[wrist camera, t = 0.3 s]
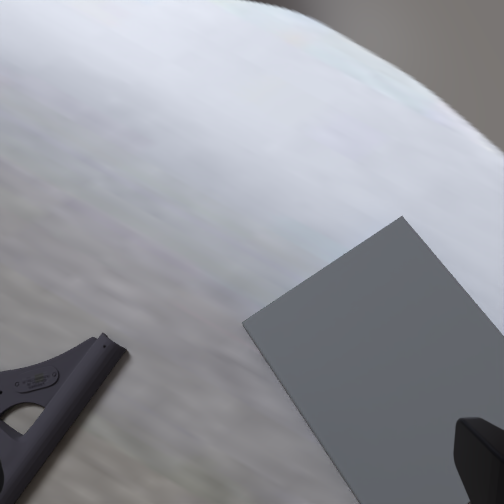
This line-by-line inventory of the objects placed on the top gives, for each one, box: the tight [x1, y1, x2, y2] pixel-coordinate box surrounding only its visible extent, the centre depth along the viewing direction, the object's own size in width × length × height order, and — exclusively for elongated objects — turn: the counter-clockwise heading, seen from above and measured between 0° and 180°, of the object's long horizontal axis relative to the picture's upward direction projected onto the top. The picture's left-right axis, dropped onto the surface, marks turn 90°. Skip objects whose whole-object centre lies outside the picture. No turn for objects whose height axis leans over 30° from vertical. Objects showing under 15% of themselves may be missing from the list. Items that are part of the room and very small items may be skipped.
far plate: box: [242, 216, 504, 504], centre depth 23 cm, size 13×11×1 cm
